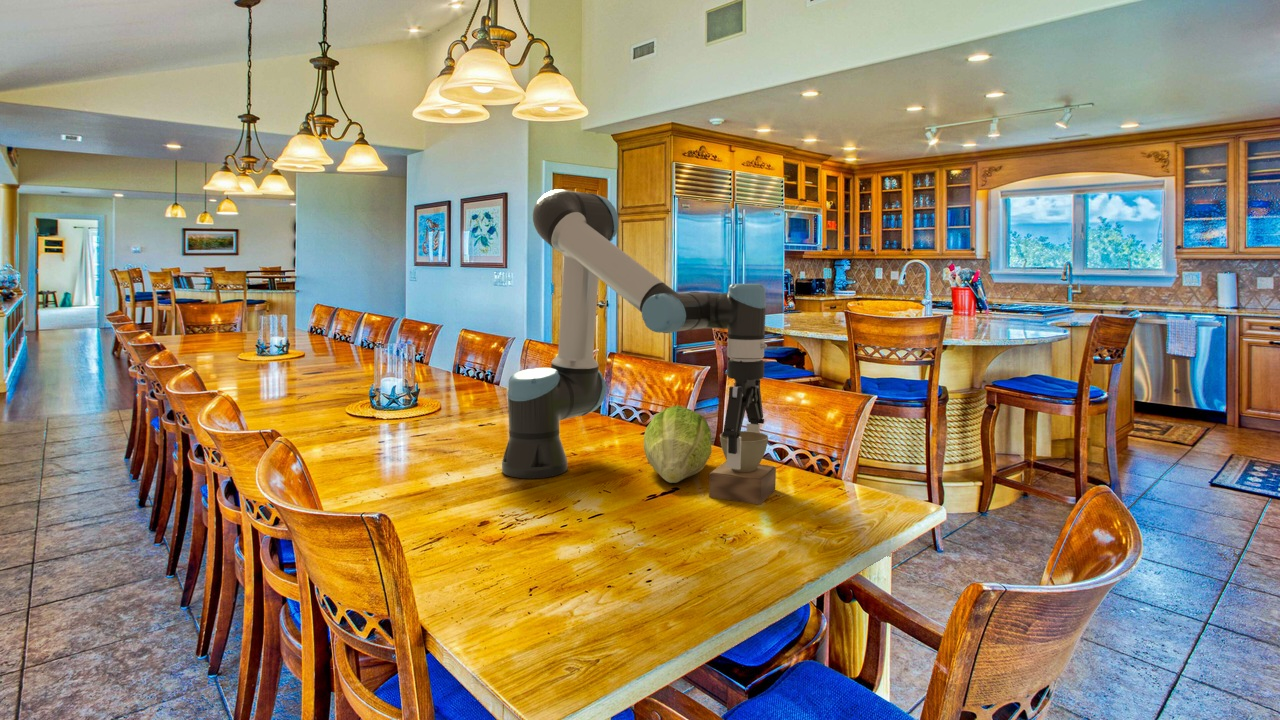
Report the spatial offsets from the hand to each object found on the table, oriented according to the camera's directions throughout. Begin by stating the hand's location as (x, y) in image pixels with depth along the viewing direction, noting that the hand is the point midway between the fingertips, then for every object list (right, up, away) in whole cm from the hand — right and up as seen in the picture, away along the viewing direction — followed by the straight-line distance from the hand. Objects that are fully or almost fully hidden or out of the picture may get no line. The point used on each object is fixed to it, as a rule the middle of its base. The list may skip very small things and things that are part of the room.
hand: (743, 460), depth 146 cm
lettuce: (-13, -5, +15) cm, 21 cm away
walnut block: (0, -7, +1) cm, 7 cm away
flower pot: (0, -2, 0) cm, 2 cm away
